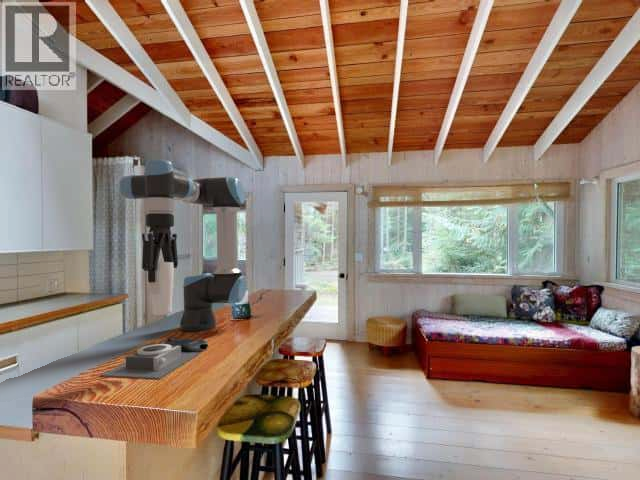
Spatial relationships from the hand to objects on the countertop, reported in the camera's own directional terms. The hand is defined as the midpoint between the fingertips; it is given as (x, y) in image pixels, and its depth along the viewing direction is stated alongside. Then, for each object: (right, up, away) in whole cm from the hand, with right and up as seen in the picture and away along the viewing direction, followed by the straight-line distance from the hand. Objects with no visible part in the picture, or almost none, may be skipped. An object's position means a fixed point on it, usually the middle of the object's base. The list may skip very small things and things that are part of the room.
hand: (161, 291), depth 104 cm
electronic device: (0, -23, +18) cm, 29 cm away
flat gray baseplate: (-3, -22, +3) cm, 23 cm away
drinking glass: (0, -7, 0) cm, 7 cm away
